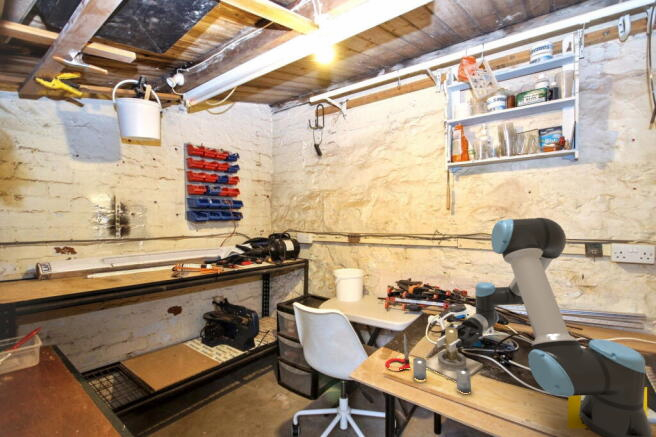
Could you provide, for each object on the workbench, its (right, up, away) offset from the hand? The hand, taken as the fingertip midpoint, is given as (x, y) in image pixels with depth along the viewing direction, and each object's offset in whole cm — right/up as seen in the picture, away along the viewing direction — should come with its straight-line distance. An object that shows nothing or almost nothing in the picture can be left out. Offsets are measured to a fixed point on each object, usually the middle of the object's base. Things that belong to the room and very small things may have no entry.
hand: (443, 346), depth 119 cm
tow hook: (-16, -11, +7) cm, 20 cm away
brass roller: (+5, -6, +4) cm, 8 cm away
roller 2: (+3, -11, -10) cm, 15 cm away
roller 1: (-9, -11, -2) cm, 15 cm away
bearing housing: (+5, -10, +4) cm, 11 cm away
